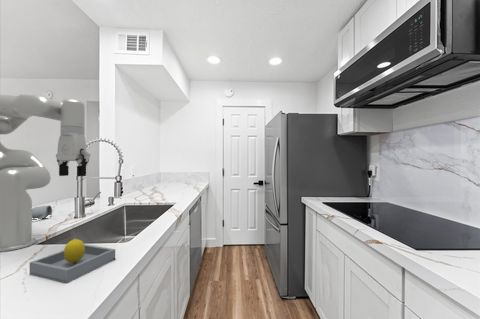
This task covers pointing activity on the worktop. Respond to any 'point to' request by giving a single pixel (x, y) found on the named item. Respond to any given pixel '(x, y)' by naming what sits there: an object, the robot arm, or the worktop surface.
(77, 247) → the lemon
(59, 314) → the worktop surface
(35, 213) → the ceramic mug
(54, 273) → the tray
